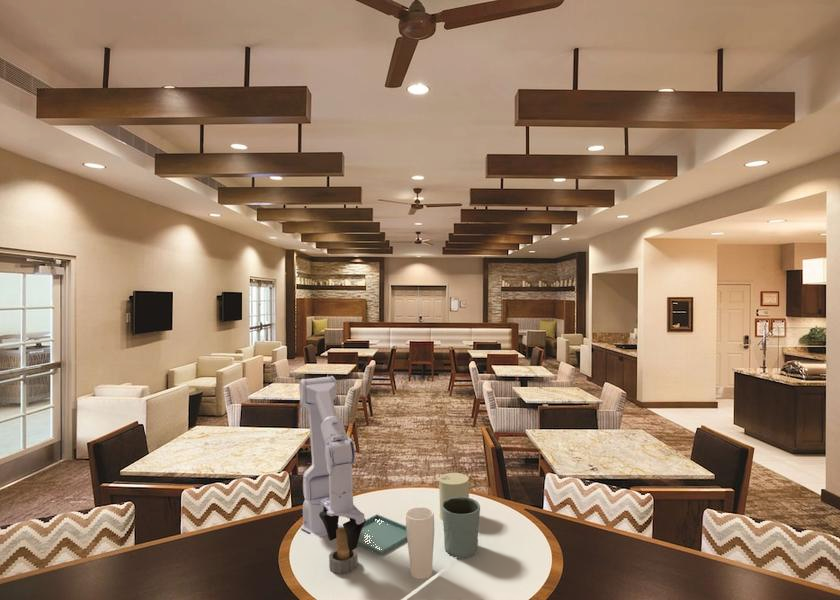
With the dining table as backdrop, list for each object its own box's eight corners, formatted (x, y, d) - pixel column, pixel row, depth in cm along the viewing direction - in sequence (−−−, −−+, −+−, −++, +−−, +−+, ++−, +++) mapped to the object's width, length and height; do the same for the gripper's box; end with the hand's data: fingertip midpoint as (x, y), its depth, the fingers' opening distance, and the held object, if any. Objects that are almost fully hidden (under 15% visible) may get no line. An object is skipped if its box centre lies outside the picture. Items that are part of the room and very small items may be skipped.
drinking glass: (433, 584, 114) (431, 520, 113) (404, 581, 115) (402, 518, 115) (437, 568, 120) (436, 507, 120) (410, 565, 122) (409, 506, 121)
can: (441, 508, 152) (440, 470, 152) (470, 509, 151) (469, 471, 151) (438, 522, 143) (436, 482, 143) (469, 524, 142) (468, 483, 142)
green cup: (453, 536, 135) (452, 493, 135) (487, 545, 130) (486, 501, 130) (435, 554, 126) (434, 508, 126) (471, 564, 121) (470, 517, 121)
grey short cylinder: (324, 569, 121) (323, 555, 121) (345, 557, 126) (344, 544, 126) (341, 579, 116) (341, 565, 116) (363, 566, 122) (362, 553, 121)
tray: (340, 538, 136) (340, 532, 136) (377, 519, 146) (377, 514, 146) (380, 557, 125) (380, 551, 125) (417, 536, 136) (416, 530, 136)
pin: (334, 566, 121) (333, 530, 121) (344, 561, 123) (343, 525, 123) (342, 570, 119) (341, 534, 119) (352, 565, 121) (351, 529, 121)
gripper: (310, 487, 123) (311, 541, 123) (347, 502, 113) (349, 560, 113) (332, 478, 128) (334, 530, 128) (370, 492, 118) (372, 548, 119)
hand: (342, 543), depth 121 cm, fingers open, 7 cm apart
